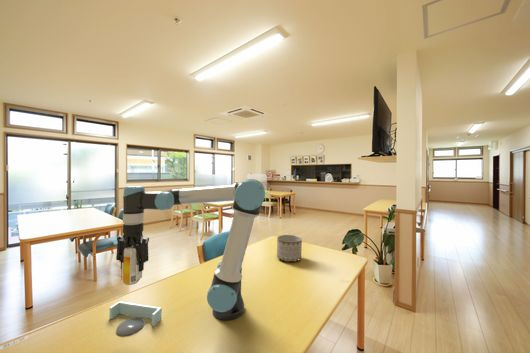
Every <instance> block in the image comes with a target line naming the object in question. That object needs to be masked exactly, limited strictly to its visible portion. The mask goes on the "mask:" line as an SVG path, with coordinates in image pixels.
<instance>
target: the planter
mask: <svg viewBox="0 0 530 353" xmlns="http://www.w3.org/2000/svg"><path fill="white" fill-rule="evenodd" d="M276 239H277V240H276V257H277V259H278V260H280V259H281V260H280V261H283V260H285V261H284V262H289V261H294V262H296V261H295V260H298V259H300V258H301V259H302V248H303V247H302V245H303V244H302V241H303V238H302V237H300V236H298V235H293V234H282V235H278V236H277V238H276ZM301 259H300V260H301ZM298 261H299V260H298Z"/></svg>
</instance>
